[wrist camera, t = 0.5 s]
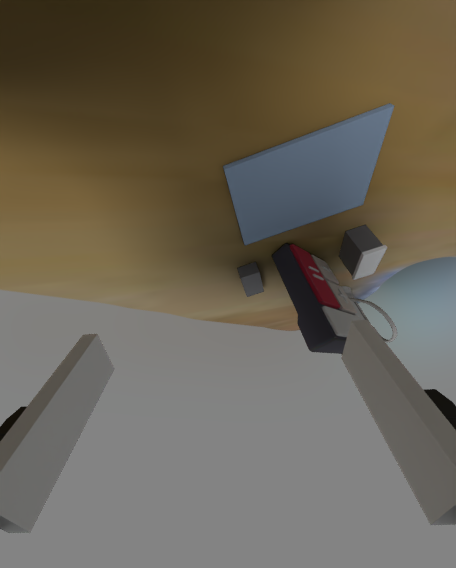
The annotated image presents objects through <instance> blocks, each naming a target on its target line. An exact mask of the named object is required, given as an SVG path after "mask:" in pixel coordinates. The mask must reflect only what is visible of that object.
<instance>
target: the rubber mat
mask: <svg viewBox="0 0 456 568" xmlns="http://www.w3.org/2000/svg"><path fill="white" fill-rule="evenodd" d="M393 108H394V105H392V104H387V105H384V106H382V107H379V108H376V109H374V110H371V111H368V112H366V113H363V114H360V115H358V116H355V117H352V118H350V119H347V120H344V121H342V122H339V123H336V124H334V125H331V126H328V127H326V128H323V129H320V130H318V131H315V132H312V133H310V134H307V135H304V136H302V137H299V138H296V139H294V140H291V141H288V142H286V143H283V144H280V145H278V146H275V147H272V148H270V149H267V150H264V151H262V152H259V153H257V154H254V155H251V156H249V157H246V158H243V159H241V160H238V161H235V162H233V163H230V164H227V165H225V166H223V168H224V172H225V176H226V179H227V183H228V187H229V190H230V194H231V198H232V201H233V205H234V209H235V212H236V216H237V220H238V224H239V227H240V231H241V235H242V238H243V242H244V245H248V244H251V243H253V242H256V241H259V240H262V239H265V238H268V237H271V236H274V235H277V234H279V233H282V232H285V231H288V230H291V229H294V228H297V227H300V226H303V225H305V224H308V223H311V222H314V221H317V220H320V219H323V218H326V217H329V216H332V215H334V214H337V213H340V212H343V211H346V210H349V209H352V208H355V207H358V206H360V205H363V203H364V200H365V196H366V193H367V190H368V187H369V184H370V181H371V177H372V174H373V171H374V168H375V165H376V162H377V159H378V155H379V152H380V149H381V146H382V143H383V140H384V136H385V133H386V130H387V127H388V124H389V121H390V117H391V114H392V111H393Z"/></svg>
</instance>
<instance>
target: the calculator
mask: <svg viewBox="0 0 456 568" xmlns="http://www.w3.org/2000/svg"><path fill="white" fill-rule="evenodd" d="M272 258H273V260H274V262H275V264H276V267H277V269H278V271H279V273H280V275H281V278H282V280H283V282H284V284H285V286H286V289H287V291H288V293H289V295H290V298H291V300H292V302H293V304H294V306H295V309H296V311H297V313H298V326H299V328H300V330H301V333H302V335H303V337H304V339H305V342H306V344H307V346H308V348H309V350H310V351H312V352H322V353H339V354H343V350H344V346H345V343H346V339H347V335H348V332H349V328H350V324H351V321H353V320H360V318H359V317H358V316H356V315H355V313H357V311H356V309H355V308H354V306H353V304H352V303H351V301H350V300H349V298H348V296H347V295H346V293H345V292H344V290H343V288H342V287H341V286H338V284H339V282H338V280H337V279H336V277H335V276H334V274H333V272H332V271H331V269H330V268H329V266H328V264H327V263H326V262H325V261H323V260H321V259H319V258H318V257H316V256H314V255H310V253H308V252H307V251H305V250H303V249H301V248H299V247H298V246H296V245H294V244H291V245H289V244H287V243H286V244H284V245H283V246H282V247H281V248H280V249H279V250H278V251H277V252H275V253H274V254H273V255H272Z"/></svg>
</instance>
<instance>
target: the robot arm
mask: <svg viewBox="0 0 456 568" xmlns="http://www.w3.org/2000/svg"><path fill="white" fill-rule="evenodd" d="M342 360H343V362H344V364H345V366H346V368H347V370H348V372H349V373H350V375H351V377H352V379H353V381H354V383H355V385H356V386H357V388H358V390H359V392H360V394H361V396H362V398H363V400H364V401H365V403H366V405H367V407H368V409H369V411H370V413H371V415H372V416H373V418H374V420H375V422H376V424H377V426H378V427H379V429H380V431H381V433H382V435H383V437H384V439H385V441H386V443H387V444H388V446H389V448H390V450H391V452H392V454H393V456H394V457H395V459H396V461H397V463H398V465H399V467H400V468H401V471H402V472H403V474H404V476H405V478H406V480H407V482H408V483H409V485H410V487H411V489H412V491H413V493H414V495H415V497H416V499H417V500H418V502H419V504H420V506H421V508H422V510H423V511H424V513H425V515H426V517H427V519H428V521H429V523H430V524H431V525H450V524H456V406H455V405H454V403H453V402H452V401H450V400H449V399H447V398H446V397H445V396H444V395H442V394H441V393H440V392H438V391H437V390H435V389H432V390H431V389H430V390H423V389H422V388H421V386H420V385H419V384H418V383H417V382H416V380H415V379H414V378H413V377H412V375H411V374H410V373H409V371H408V370H407V369H406V368H405V366H404V365H403V364H402V363H401V362H400V360H399V359H398V358H397V356H396V355H395V354H394V353H393V352H392V350H391V349H390V348H389V347H388V345H387V344H386V343H385V342H384V340H383V339H382V338H381V337H380V335H379V334H378V333H377V332H376V330H375V329H374V328H373V327H372V325H371V324H370V323H369V322H368V320H353V321H351V324H350V328H349V332H348V335H347V339H346V343H345V346H344V350H343V354H342ZM113 371H114V367H113V365H112V363H111V361H110V359H109V357H108V355H107V352H106V350H105V349H104V346H103V344H102V342H101V340H100V338H99V336H98V334H88V335H83V336H82V337H81V338H80V339H79V341H78V342H77V343H76V345H75V346H74V347H73V349H72V350H71V351H70V352H69V354H68V355H67V356H66V358H65V359H64V360H63V361H62V363H61V364H60V365H59V367H58V368H57V369H56V370H55V372H54V373H53V375H52V376H51V377H50V378H49V379H48V381H47V382H46V383H45V385H44V386H43V387H42V389H41V390H40V391H39V392H38V394H37V395H36V396H35V398H34V399H33V400H32V402H31V403H30V404H29V405H28V407H20V408H19V409H18V410H17V411H16V412H15V413H13V414H12V415H11V416H10V417H9V418H8V419H6V421H5V422H4V423H3V424H2V426H1V427H0V529H2V530H4V531H6V532H8V533H25V532H26V533H29V532H31V530H32V528H33V526H34V524H35V522H36V520H37V518H38V516H39V514H40V513H41V511H42V509H43V506H44V505H45V503H46V501H47V499H48V497H49V495H50V493H51V491H52V489H53V487H54V485H55V483H56V481H57V479H58V478H59V475H60V474H61V472H62V470H63V468H64V466H65V464H66V462H67V460H68V458H69V456H70V454H71V452H72V450H73V448H74V446H75V444H76V442H77V441H78V439H79V437H80V435H81V433H82V431H83V429H84V427H85V425H86V423H87V421H88V419H89V417H90V415H91V413H92V412H93V410H94V407H95V406H96V403H97V402H98V400H99V398H100V396H101V394H102V392H103V390H104V388H105V386H106V384H107V382H108V380H109V378H110V377H111V375H112V373H113Z"/></svg>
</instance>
